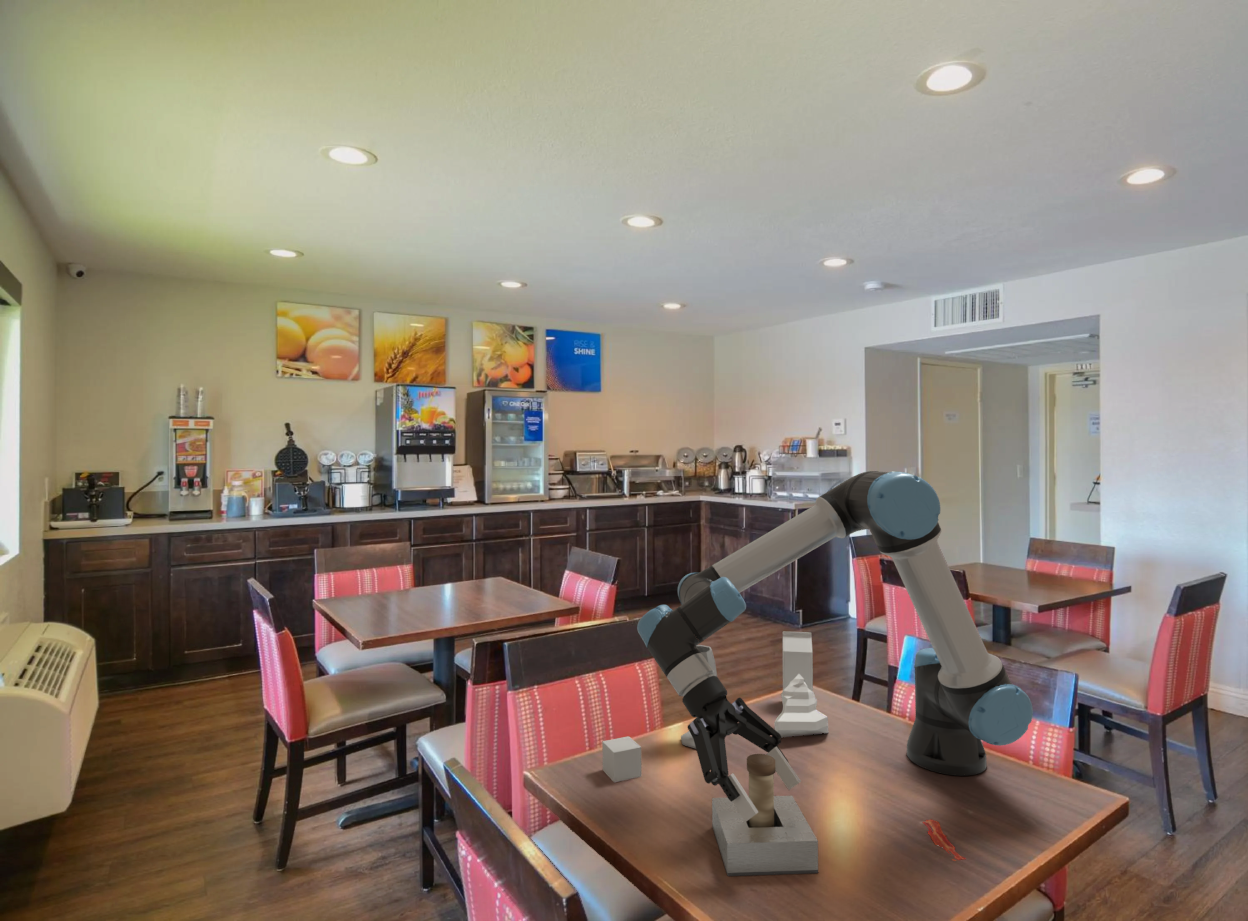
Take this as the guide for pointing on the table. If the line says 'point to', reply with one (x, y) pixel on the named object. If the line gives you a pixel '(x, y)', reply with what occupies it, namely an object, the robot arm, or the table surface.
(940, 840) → the bacon strip
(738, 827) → the block
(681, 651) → the robot arm
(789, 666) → the milk carton
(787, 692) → the soft serve ice cream
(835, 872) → the table surface
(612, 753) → the grey cube
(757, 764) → the beige cylinder
